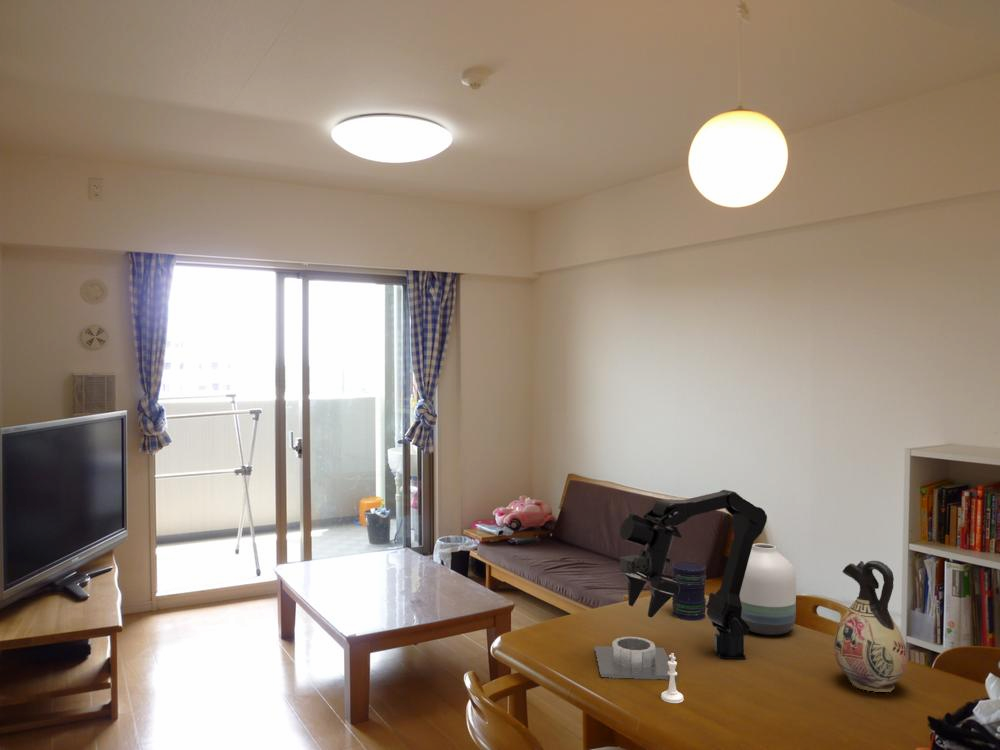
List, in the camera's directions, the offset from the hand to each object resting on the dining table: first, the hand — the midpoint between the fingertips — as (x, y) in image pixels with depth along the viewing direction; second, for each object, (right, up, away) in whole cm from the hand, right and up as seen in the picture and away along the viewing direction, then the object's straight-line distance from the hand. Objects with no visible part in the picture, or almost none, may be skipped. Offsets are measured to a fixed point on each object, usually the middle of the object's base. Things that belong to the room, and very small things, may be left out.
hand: (639, 611), depth 177 cm
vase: (+41, -15, +28) cm, 52 cm away
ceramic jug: (+52, -14, -11) cm, 55 cm away
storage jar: (+23, -15, +40) cm, 48 cm away
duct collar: (-1, -14, +2) cm, 14 cm away
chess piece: (+4, -14, -17) cm, 23 cm away
